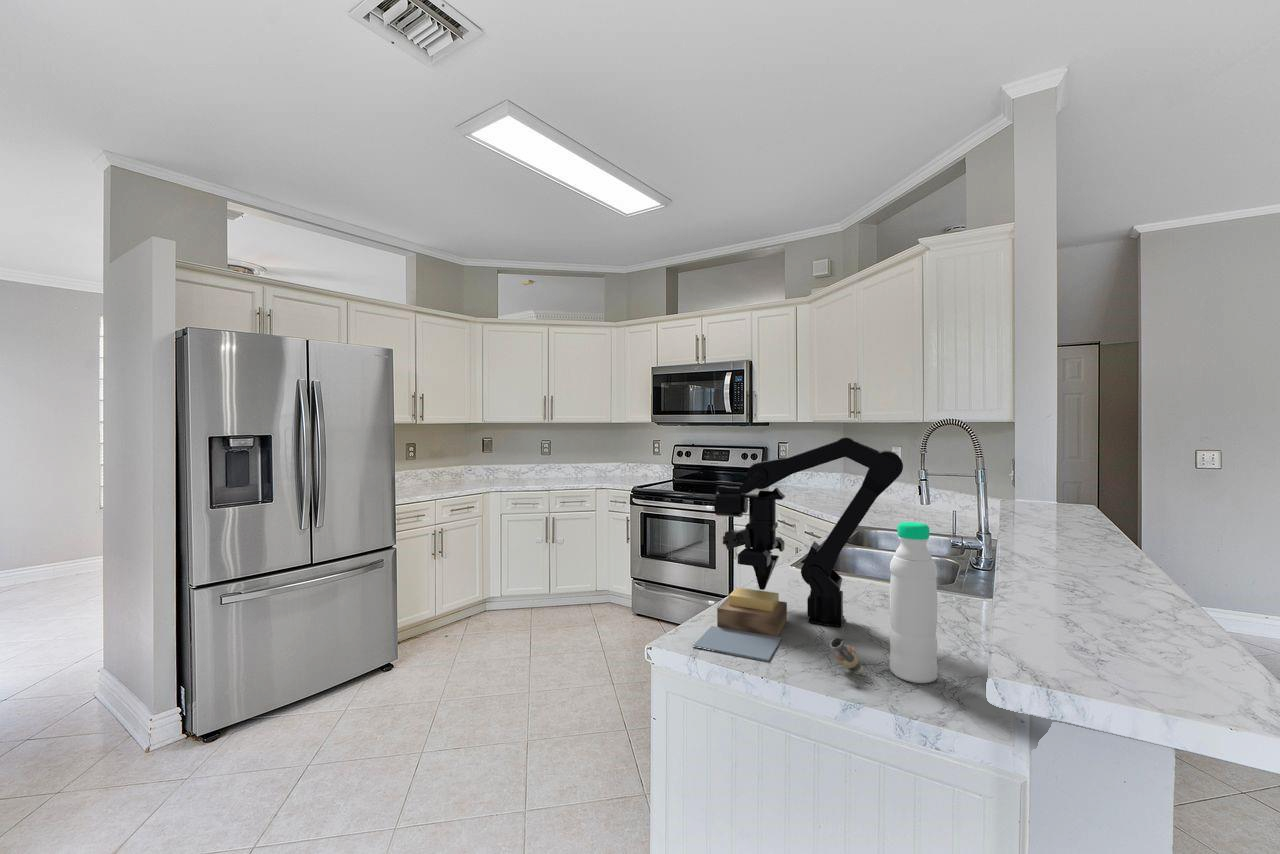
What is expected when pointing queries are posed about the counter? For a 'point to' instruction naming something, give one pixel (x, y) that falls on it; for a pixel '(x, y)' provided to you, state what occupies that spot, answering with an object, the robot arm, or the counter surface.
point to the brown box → (752, 618)
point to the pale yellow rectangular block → (754, 599)
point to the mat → (739, 643)
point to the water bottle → (913, 606)
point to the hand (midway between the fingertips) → (762, 589)
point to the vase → (847, 657)
